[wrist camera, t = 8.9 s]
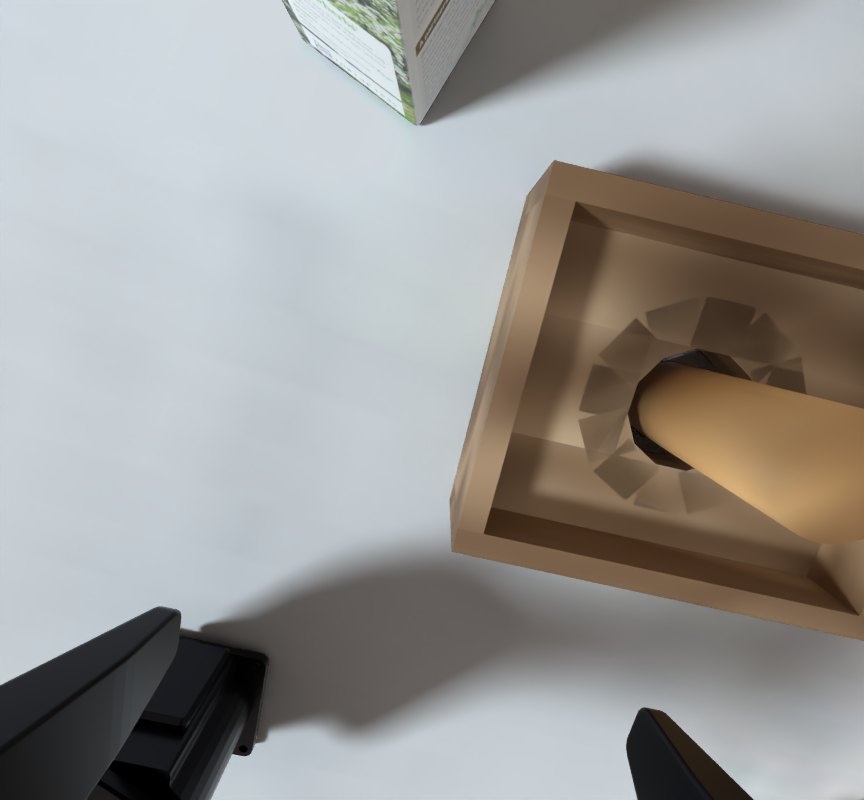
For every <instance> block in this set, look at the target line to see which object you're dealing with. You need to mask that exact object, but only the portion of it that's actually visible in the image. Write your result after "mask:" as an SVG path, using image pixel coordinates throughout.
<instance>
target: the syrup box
mask: <svg viewBox="0 0 864 800" xmlns="http://www.w3.org/2000/svg"><path fill="white" fill-rule="evenodd" d="M282 1H283V3H284V5H285V7H286V9H287V11H288V13H289V15H290V17H291V18H292V20H293V22H294V24H295V26H296V27H297V29H298V31H299V33H300V35H301V37H302V39H303V40H304V41H305V42H306V43H308V44H309V45H310V46H311V47H313V48H314V49H315V50H317V51H318V52H319V53H321V54H322V55H323V56H325V57H326V58H327V59H329V60H330V61H331V62H333V63H334V64H335V65H337V66H338V67H339V68H341V69H342V70H343V71H345V72H346V73H347V74H349V75H350V76H351V77H352V78H354V79H355V80H357V81H358V82H359V83H361V84H362V85H363V86H365V87H366V88H367V89H368V90H370V91H371V92H372V93H373V94H375V95H376V96H378V97H379V98H380V99H382V100H383V101H384V102H385V103H387V104H388V105H389V106H390V107H392V108H393V109H394V110H396V111H397V112H398V113H399V114H401V115H402V116H403V117H405V118H406V119H407V120H409V121H410V122H411V123H413V124H414V125H419V124H420V123H421V121H422V120H423V118H424V116H425V115H426V113H427V112H428V110H429V108H430V107H431V105H432V103H433V102H434V100H435V98H436V97H437V95H438V93H439V92H440V90H441V88H442V87H443V85H444V83H445V82H446V80H447V78H448V77H449V75H450V74H451V72H452V70H453V69H454V67H455V65H456V64H457V62H458V60H459V59H460V57H461V55H462V54H463V52H464V50H465V49H466V47H467V46H468V44H469V42H470V41H471V39H472V37H473V36H474V34H475V33H476V31H477V29H478V28H479V26H480V25H481V23H482V21H483V20H484V18H485V16H486V15H487V13H488V11H489V10H490V8H491V6H492V5H493V3H494V2H495V0H282Z"/></svg>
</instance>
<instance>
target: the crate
mask: <svg viewBox="0 0 864 800" xmlns="http://www.w3.org/2000/svg"><path fill="white" fill-rule="evenodd" d="M693 349H695V350H700V351H701V352H702V353H703V354H704V355H705V356H706V357H707V358H708V359H709V360H710V361H711V362H712V363H713V364H714V365H715V366H716V368H717V369H718V370H719V371H720V373H721V374H725V375H729V376H733V377H737V378H741V379H745V380H749V381H753V382H757V383H761V384H765V385H769V386H773V387H777V388H781V389H785V390H789V391H794V392H798V393H802V394H806V395H810V396H814V397H818V398H822V399H826V400H830V401H834V402H838V403H842V404H846V405H850V406H854V407H858V408H862V409H864V235H862V234H858V233H854V232H850V231H845V230H841V229H837V228H833V227H829V226H825V225H821V224H816V223H812V222H808V221H804V220H800V219H796V218H792V217H787V216H783V215H779V214H775V213H771V212H767V211H762V210H758V209H754V208H750V207H746V206H742V205H738V204H733V203H729V202H725V201H721V200H717V199H713V198H709V197H704V196H700V195H696V194H692V193H688V192H684V191H680V190H675V189H671V188H667V187H663V186H659V185H655V184H651V183H646V182H642V181H638V180H634V179H630V178H626V177H622V176H617V175H613V174H609V173H605V172H601V171H597V170H593V169H588V168H584V167H580V166H576V165H572V164H568V163H564V162H559V161H555V160H554V161H553V162H552V164H551V165H550V166H549V168H548V169H547V170H546V172H545V173H544V174H543V175H542V177H541V178H540V179H539V181H538V182H537V183H536V184H535V186H534V187H533V188H532V190H531V191H530V192H529V194H528V195H527V197H526V201H525V205H524V209H523V213H522V216H521V220H520V224H519V228H518V232H517V236H516V240H515V244H514V248H513V252H512V256H511V260H510V264H509V268H508V272H507V276H506V280H505V284H504V287H503V291H502V295H501V299H500V303H499V307H498V311H497V315H496V319H495V323H494V327H493V331H492V335H491V339H490V343H489V347H488V351H487V355H486V359H485V362H484V366H483V370H482V374H481V378H480V382H479V386H478V390H477V394H476V398H475V402H474V406H473V410H472V414H471V418H470V422H469V426H468V430H467V433H466V437H465V441H464V445H463V449H462V453H461V457H460V461H459V465H458V469H457V473H456V477H455V481H454V485H453V489H452V493H451V497H450V521H451V547H452V552H456V553H461V554H465V555H470V556H474V557H479V558H484V559H488V560H493V561H498V562H502V563H507V564H511V565H516V566H521V567H525V568H530V569H535V570H539V571H544V572H548V573H553V574H558V575H562V576H567V577H572V578H576V579H581V580H585V581H590V582H595V583H599V584H604V585H609V586H613V587H618V588H622V589H627V590H632V591H636V592H641V593H646V594H650V595H655V596H659V597H664V598H669V599H673V600H678V601H683V602H687V603H692V604H696V605H701V606H706V607H710V608H715V609H720V610H724V611H729V612H733V613H738V614H743V615H747V616H752V617H756V618H761V619H766V620H770V621H775V622H780V623H784V624H789V625H793V626H798V627H803V628H807V629H812V630H817V631H821V632H826V633H830V634H835V635H840V636H844V637H849V638H854V639H858V640H863V641H864V538H863V539H861V540H857V541H854V542H849V543H844V544H822V543H816V542H813V541H809V540H807V539H804V538H802V537H800V536H798V535H797V534H795V533H794V532H792V531H790V530H789V529H787V528H786V527H784V526H783V525H781V524H780V523H778V522H777V521H775V520H774V519H772V518H770V517H769V516H767V515H766V514H764V513H763V512H761V511H760V510H758V509H757V508H755V507H753V506H752V505H750V504H749V503H747V502H746V501H744V500H743V499H741V498H740V497H738V496H736V495H735V494H733V493H732V492H730V491H729V490H727V489H726V488H724V487H723V486H721V485H719V484H718V483H716V482H715V481H713V480H712V479H710V478H709V477H707V476H706V475H704V474H703V473H701V472H699V471H698V470H696V469H695V468H693V467H692V466H690V465H689V464H687V463H686V462H684V461H682V460H681V459H679V458H678V457H676V456H675V455H673V454H672V453H668V454H664V455H661V454H656V453H652V452H647V451H643V450H641V449H639V448H638V447H637V446H636V445H635V444H634V440H633V436H632V431H631V427H630V422H629V418H628V411H629V408H630V405H631V402H632V399H633V396H634V393H635V390H636V387H637V384H638V382H639V381H640V380H641V379H642V378H643V377H644V376H645V375H646V374H648V373H649V372H650V371H651V370H652V369H653V368H654V367H655V366H656V365H657V364H658V363H659V362H660V361H661V360H662V359H663V358H666V357H670V356H673V355H676V354H680V353H683V352H687V351H690V350H693Z"/></svg>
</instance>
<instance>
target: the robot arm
mask: <svg viewBox="0 0 864 800" xmlns="http://www.w3.org/2000/svg"><path fill="white" fill-rule="evenodd" d="M180 624H181V612H180V611H179V610H177V609H172V608H167V607H162V606H159V607H156V608H153V609H151V610H149V611H147V612H145V613H143V614H141V615H139V616H137V617H135V618H133V619H131V620H129V621H127V622H125V623H123V624H121V625H119V626H117V627H115V628H113V629H111V630H109V631H107V632H105V633H103V634H101V635H99V636H98V637H96V638H94V639H92V640H90V641H88V642H86V643H84V644H82V645H80V646H78V647H76V648H74V649H72V650H70V651H68V652H66V653H64V654H62V655H60V656H58V657H56V658H54V659H52V660H50V661H48V662H46V663H44V664H42V665H40V666H38V667H36V668H34V669H32V670H30V671H28V672H26V673H24V674H22V675H20V676H18V677H16V678H14V679H12V680H10V681H8V682H6V683H4V684H2V685H0V800H211V798H212V796H213V793H214V791H215V789H216V787H217V785H218V783H219V781H220V778H221V776H222V774H223V772H224V770H225V768H226V766H227V764H228V761H229V759H230V757H231V755H232V754H235V755H240V756H248V755H250V754H251V752H252V750H253V748H254V745H255V742H256V736H257V730H258V724H259V718H260V712H261V706H262V700H263V694H264V688H265V682H266V677H267V671H268V665H269V660H268V658H267V656H265V655H264V654H261V653H257V652H252V651H248V650H243V649H238V648H233V647H228V646H224V645H219V644H214V643H209V642H204V641H199V640H195V639H190V638H185V637H180V636H179V633H180ZM256 663H258V664H260V665H258V664H256ZM626 750H627V757H628V761H629V765H630V770H631V774H632V778H633V782H634V787H635V791H636V795H637V800H753V799H752V798H751V797H750V796H749V795H748V794H747V793H746V792H745V791H744V790H743V789H742V788H741V787H740V786H739V785H738V784H737V783H736V782H735V781H734V780H733V779H732V778H731V777H730V776H729V775H728V774H727V773H726V772H725V771H724V770H723V769H722V768H721V767H720V766H719V765H718V764H717V763H716V762H715V761H714V760H713V759H712V758H711V757H710V756H709V755H708V754H707V753H706V752H705V751H704V750H703V749H701V748H700V747H699V746H698V745H697V744H696V743H695V742H694V741H693V740H692V739H691V738H690V737H689V736H688V735H687V734H686V733H685V732H684V731H683V730H682V729H681V728H680V727H679V726H678V725H677V724H676V723H675V722H674V721H673V720H672V719H671V718H670V717H669V716H668V715H667V714H666V713H664V712H662V711H660V710H655V709H650V708H645V707H644V708H641V709H640V710H639V711H638V713H637V716H636V718H635V720H634V723H633V725H632V728H631V730H630V733H629V735H628V738H627V743H626Z"/></svg>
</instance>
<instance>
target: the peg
mask: <svg viewBox="0 0 864 800" xmlns="http://www.w3.org/2000/svg"><path fill="white" fill-rule="evenodd" d="M628 418H629V422H630V423H631V425H632V426H633V427H634V428H635V429H636V430H637V431H638V432H639V433H641V434H642V435H644V436H645V437H647V438H649V439H650V440H652V441H653V442H655V443H656V444H658V445H659V446H661V447H662V448H664V449H665V450H667V451H669V452H670V453H672V454H673V455H675V456H676V457H678V458H679V459H681V460H682V461H684V462H686V463H687V464H689V465H690V466H692V467H693V468H695V469H696V470H698V471H699V472H701V473H703V474H704V475H706V476H707V477H709V478H710V479H712V480H713V481H715V482H716V483H718V484H719V485H721V486H723V487H724V488H726V489H727V490H729V491H730V492H732V493H733V494H735V495H736V496H738V497H740V498H741V499H743V500H744V501H746V502H747V503H749V504H750V505H752V506H753V507H755V508H757V509H758V510H760V511H761V512H763V513H764V514H766V515H767V516H769V517H770V518H772V519H774V520H775V521H777V522H778V523H780V524H781V525H783V526H784V527H786V528H787V529H789V530H790V531H792V532H794V533H795V534H797V535H798V536H800V537H802V538H804V539H807V540H809V541H813V542H816V543H822V544H844V543H849V542H854V541H857V540H861V539H863V538H864V409H862V408H858V407H854V406H850V405H846V404H842V403H838V402H834V401H830V400H826V399H822V398H818V397H814V396H810V395H806V394H802V393H798V392H794V391H789V390H785V389H781V388H777V387H773V386H769V385H765V384H761V383H757V382H753V381H749V380H745V379H741V378H737V377H733V376H729V375H725V374H721V373H717V372H712V371H708V370H704V369H700V368H696V367H692V366H688V365H684V364H680V363H674V362H666V363H660V364H657V365H656V366H655V367H654V368H653V369H652V370H651V371H650V372H649V373H648V374H646V375H645V376H644V377H643V378H642V379H641V380H640V381H639V382H638V384H637V387H636V390H635V393H634V396H633V399H632V402H631V405H630V408H629V411H628Z"/></svg>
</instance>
